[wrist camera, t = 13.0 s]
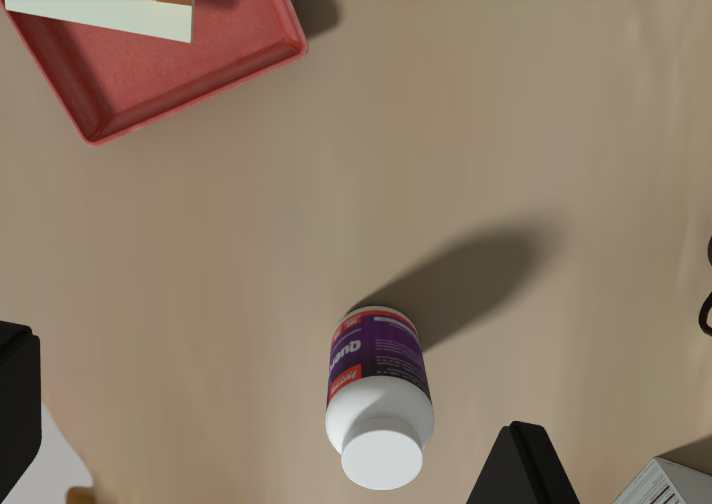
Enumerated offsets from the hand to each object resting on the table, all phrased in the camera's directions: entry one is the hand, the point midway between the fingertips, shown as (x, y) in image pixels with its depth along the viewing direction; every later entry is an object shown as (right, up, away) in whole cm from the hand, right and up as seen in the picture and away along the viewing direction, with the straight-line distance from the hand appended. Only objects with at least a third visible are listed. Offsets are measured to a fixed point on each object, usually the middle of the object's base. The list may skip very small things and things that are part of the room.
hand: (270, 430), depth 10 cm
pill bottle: (+4, -4, +37) cm, 37 cm away
